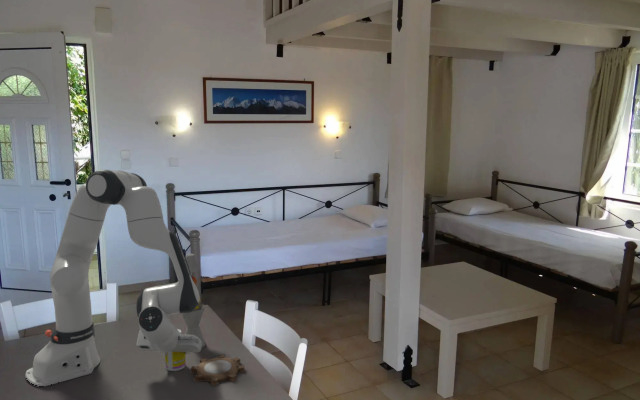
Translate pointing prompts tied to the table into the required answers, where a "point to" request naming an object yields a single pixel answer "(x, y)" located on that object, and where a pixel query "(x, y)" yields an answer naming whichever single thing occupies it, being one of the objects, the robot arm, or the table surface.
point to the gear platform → (217, 369)
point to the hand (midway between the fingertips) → (175, 351)
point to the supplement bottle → (175, 360)
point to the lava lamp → (195, 316)
